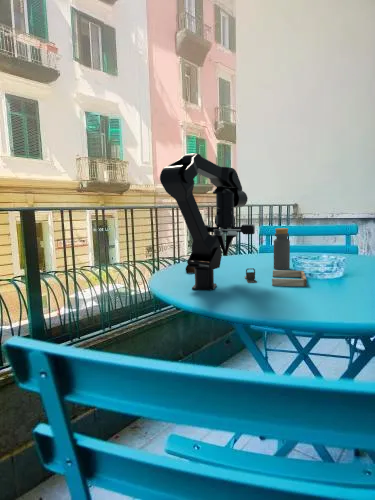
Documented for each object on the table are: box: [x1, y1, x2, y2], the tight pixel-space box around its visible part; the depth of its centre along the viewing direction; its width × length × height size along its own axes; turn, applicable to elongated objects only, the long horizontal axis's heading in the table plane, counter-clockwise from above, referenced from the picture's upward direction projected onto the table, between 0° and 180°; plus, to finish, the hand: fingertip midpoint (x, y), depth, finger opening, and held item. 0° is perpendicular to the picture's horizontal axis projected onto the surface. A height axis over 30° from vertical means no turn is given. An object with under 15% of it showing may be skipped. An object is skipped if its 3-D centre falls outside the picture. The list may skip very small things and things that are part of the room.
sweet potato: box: [185, 261, 204, 274], centre depth 141 cm, size 18×7×7 cm, turn 164°
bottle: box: [273, 227, 291, 271], centre depth 135 cm, size 6×6×15 cm
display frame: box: [271, 269, 308, 287], centre depth 116 cm, size 14×10×2 cm
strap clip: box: [244, 267, 258, 284], centre depth 118 cm, size 8×3×4 cm, turn 179°
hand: (225, 255), depth 119 cm, fingers closed
